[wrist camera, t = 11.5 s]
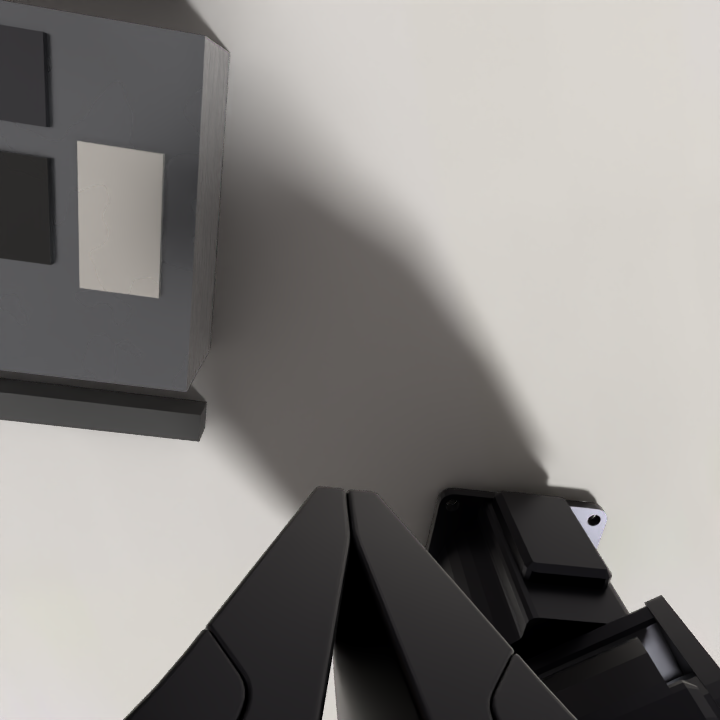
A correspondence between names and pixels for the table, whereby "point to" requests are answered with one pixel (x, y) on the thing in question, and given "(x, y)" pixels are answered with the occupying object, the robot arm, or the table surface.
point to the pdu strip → (108, 197)
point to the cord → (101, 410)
